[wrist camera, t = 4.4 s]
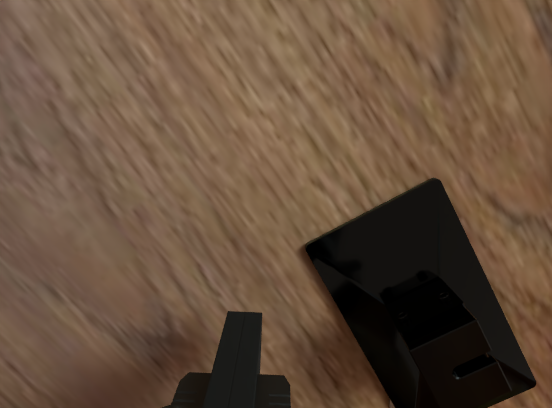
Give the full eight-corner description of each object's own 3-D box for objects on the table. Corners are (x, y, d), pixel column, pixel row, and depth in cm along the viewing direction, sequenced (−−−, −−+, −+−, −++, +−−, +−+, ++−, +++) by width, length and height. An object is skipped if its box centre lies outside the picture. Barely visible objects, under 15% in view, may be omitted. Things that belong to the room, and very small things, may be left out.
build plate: (532, 379, 22) (599, 452, 17) (406, 435, 22) (437, 518, 18) (436, 175, 19) (484, 197, 15) (298, 247, 20) (303, 288, 15)
